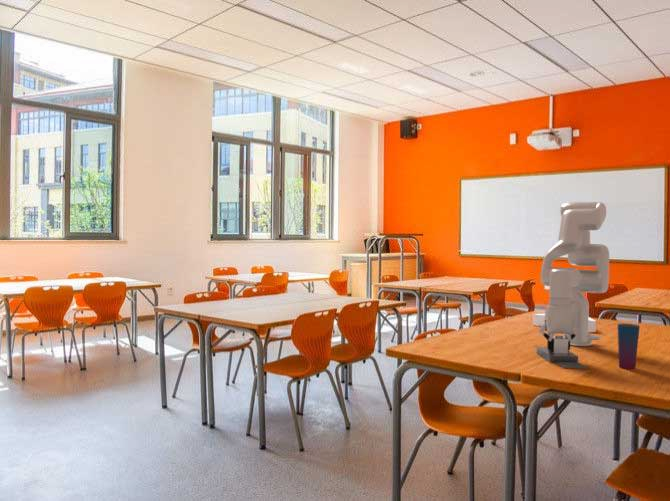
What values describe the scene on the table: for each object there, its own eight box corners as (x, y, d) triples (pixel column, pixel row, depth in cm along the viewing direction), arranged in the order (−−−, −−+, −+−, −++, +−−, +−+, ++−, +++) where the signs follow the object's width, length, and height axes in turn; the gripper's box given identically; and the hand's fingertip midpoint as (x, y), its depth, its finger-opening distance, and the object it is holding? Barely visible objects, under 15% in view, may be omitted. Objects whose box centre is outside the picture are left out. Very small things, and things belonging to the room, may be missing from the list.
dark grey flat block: (562, 354, 215) (563, 347, 215) (577, 363, 200) (578, 355, 200) (536, 353, 216) (536, 346, 216) (549, 362, 201) (549, 354, 201)
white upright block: (562, 357, 208) (563, 335, 208) (567, 361, 203) (568, 337, 203) (549, 357, 209) (549, 334, 208) (553, 360, 204) (554, 337, 203)
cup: (612, 365, 198) (613, 323, 197) (630, 365, 198) (631, 323, 198) (623, 370, 191) (625, 326, 190) (642, 370, 191) (644, 326, 191)
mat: (578, 363, 199) (578, 362, 199) (587, 369, 191) (587, 368, 191) (556, 363, 200) (556, 361, 200) (564, 368, 192) (564, 367, 192)
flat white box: (532, 326, 283) (533, 314, 283) (551, 320, 303) (551, 309, 303) (595, 334, 264) (595, 320, 264) (610, 327, 284) (610, 315, 283)
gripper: (579, 301, 209) (578, 350, 209) (533, 300, 210) (532, 348, 210) (587, 304, 201) (586, 354, 202) (539, 303, 202) (538, 353, 203)
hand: (558, 350), depth 206 cm, fingers closed on white upright block, 5 cm apart
